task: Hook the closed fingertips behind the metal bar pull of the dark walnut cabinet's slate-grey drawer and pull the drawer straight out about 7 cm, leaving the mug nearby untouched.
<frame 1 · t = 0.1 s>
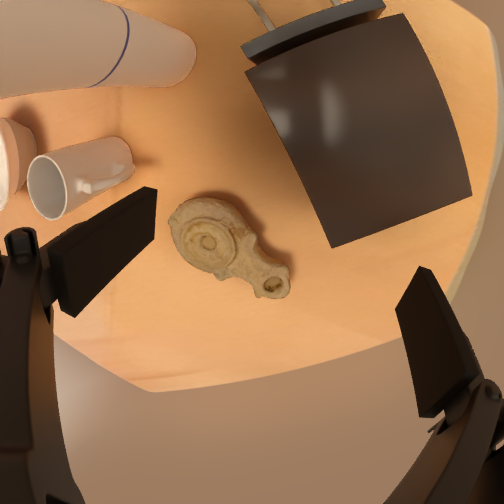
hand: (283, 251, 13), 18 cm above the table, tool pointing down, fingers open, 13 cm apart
drawer: (324, 50, 19), point 5 cm above the table, slide at 1.0 cm
mug: (124, 160, 32), on the table
cabinet: (355, 122, 25), on the table
bowl: (24, 150, 34), on the table
cylindrical container: (167, 58, 26), on the table
oil lamp: (237, 235, 34), on the table
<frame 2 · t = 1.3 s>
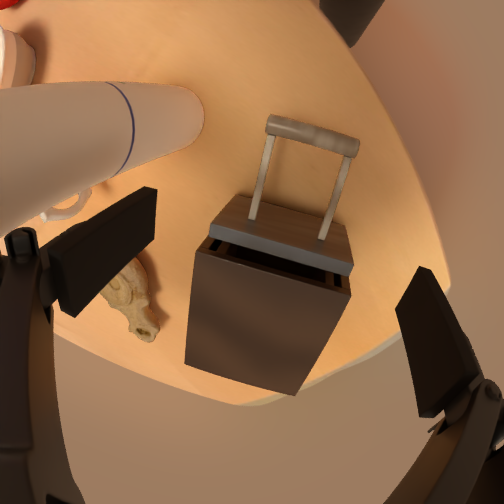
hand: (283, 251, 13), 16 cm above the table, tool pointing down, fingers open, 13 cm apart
drawer: (280, 247, 26), point 5 cm above the table, slide at 1.0 cm
mug: (89, 166, 32), on the table
cabinet: (269, 281, 34), on the table
bowl: (21, 71, 26), on the table
cylindrical container: (173, 118, 27), on the table
oil lamp: (139, 281, 38), on the table
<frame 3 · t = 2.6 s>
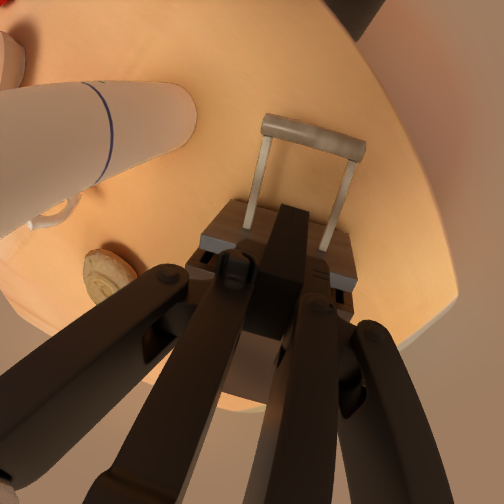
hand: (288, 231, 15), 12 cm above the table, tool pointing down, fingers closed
drawer: (278, 257, 24), point 5 cm above the table, slide at 1.0 cm
mug: (79, 169, 30), on the table
cabinet: (267, 290, 32), on the table
bowl: (12, 70, 24), on the table
cylindrical container: (164, 117, 25), on the table
oil lamp: (132, 287, 37), on the table
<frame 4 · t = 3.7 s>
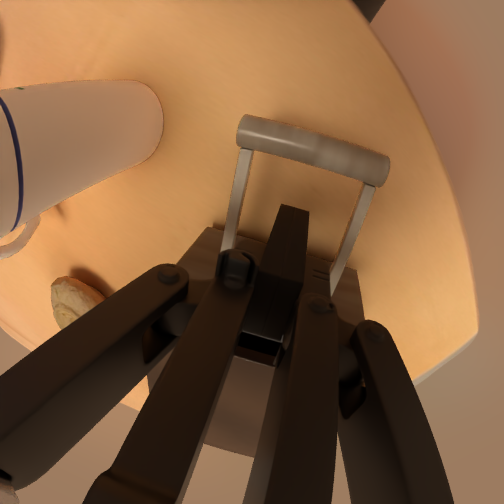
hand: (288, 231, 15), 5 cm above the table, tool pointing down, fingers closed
drawer: (266, 306, 19), point 5 cm above the table, slide at 1.0 cm
mug: (42, 185, 24), on the table
cabinet: (256, 330, 26), on the table
cylindrical container: (126, 123, 20), on the table
oil lamp: (107, 316, 31), on the table
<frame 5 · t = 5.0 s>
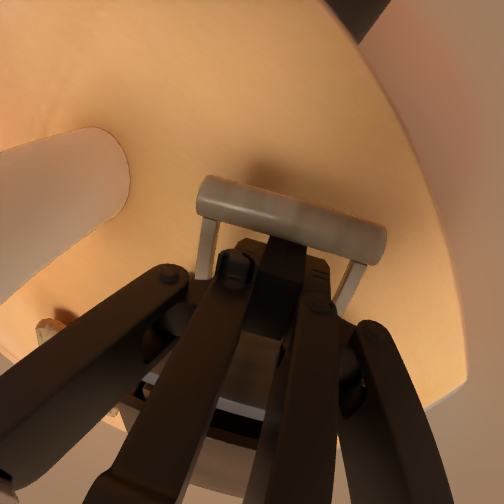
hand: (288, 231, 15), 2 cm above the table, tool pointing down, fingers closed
drawer: (243, 369, 17), point 5 cm above the table, slide at 2.1 cm, touching gripper
cabinet: (238, 380, 25), on the table
cylindrical container: (93, 174, 18), on the table
oil lamp: (93, 354, 29), on the table
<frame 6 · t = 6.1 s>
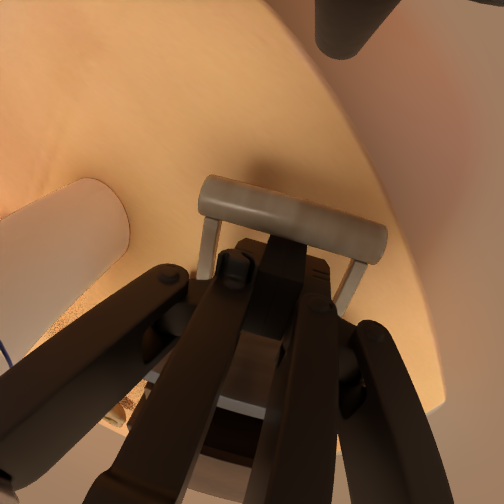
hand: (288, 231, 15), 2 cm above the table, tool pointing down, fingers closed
drawer: (245, 367, 17), point 5 cm above the table, slide at 5.9 cm
cabinet: (232, 398, 27), on the table
cylindrical container: (95, 221, 20), on the table
oil lamp: (99, 371, 31), on the table
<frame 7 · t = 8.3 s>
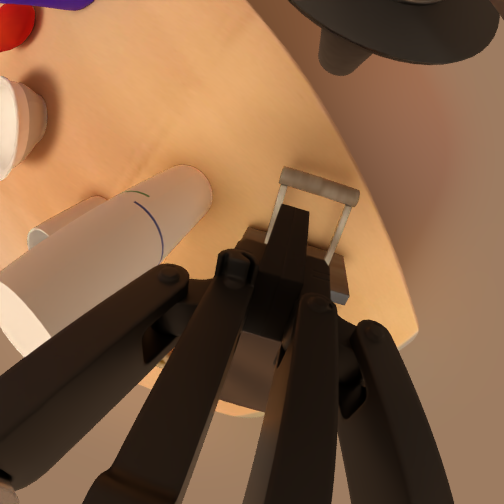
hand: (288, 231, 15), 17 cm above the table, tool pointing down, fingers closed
tomato: (28, 26, 24), on the table
drawer: (287, 276, 30), point 5 cm above the table, slide at 5.9 cm
mug: (108, 223, 38), on the table
cabinet: (265, 326, 40), on the table
bowl: (33, 119, 32), on the table
cylindrical container: (184, 193, 34), on the table
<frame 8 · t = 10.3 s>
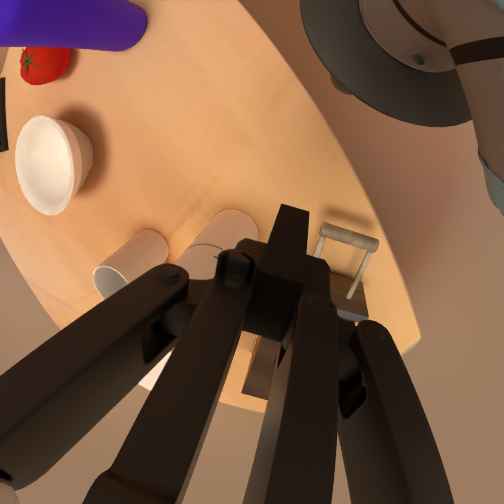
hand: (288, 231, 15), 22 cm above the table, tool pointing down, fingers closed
tomato: (62, 58, 32), on the table
drawer: (320, 301, 38), point 5 cm above the table, slide at 5.9 cm
mug: (159, 253, 46), on the table
bottle: (126, 28, 29), on the table
cabinet: (296, 336, 48), on the table
bowl: (76, 153, 40), on the table
cylindrical container: (233, 232, 42), on the table
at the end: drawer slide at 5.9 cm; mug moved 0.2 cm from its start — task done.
